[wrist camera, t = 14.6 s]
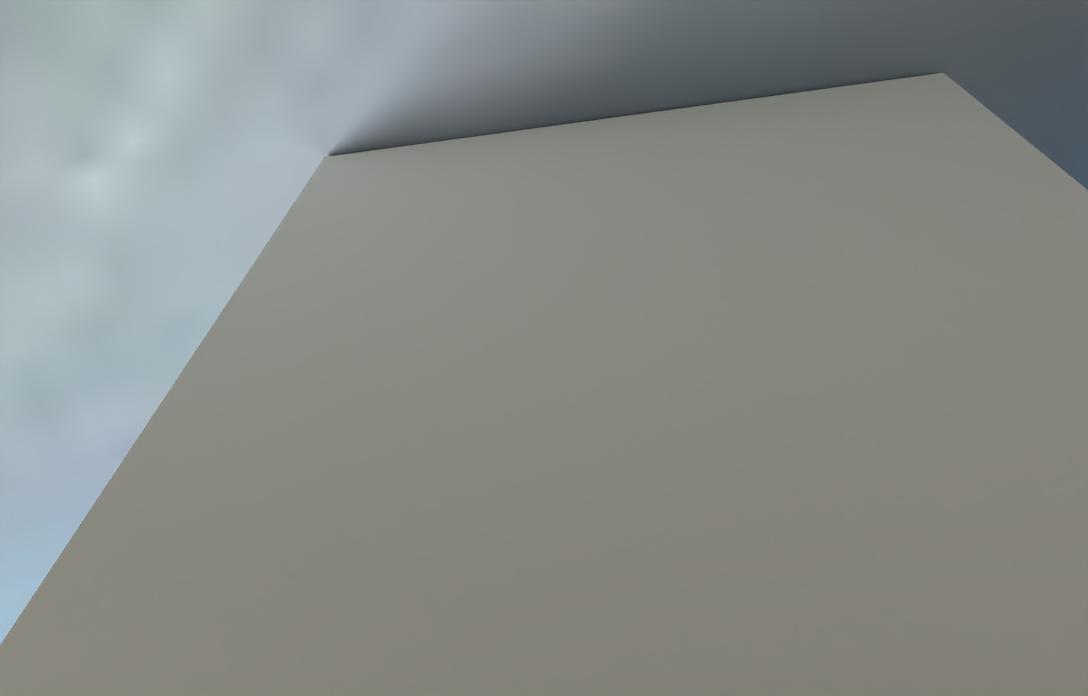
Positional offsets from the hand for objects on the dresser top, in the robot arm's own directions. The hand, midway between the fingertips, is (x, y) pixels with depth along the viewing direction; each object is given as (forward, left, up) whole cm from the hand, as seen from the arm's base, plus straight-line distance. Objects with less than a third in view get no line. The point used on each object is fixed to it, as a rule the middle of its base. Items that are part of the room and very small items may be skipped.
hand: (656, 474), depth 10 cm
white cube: (0, 0, -2) cm, 3 cm away
